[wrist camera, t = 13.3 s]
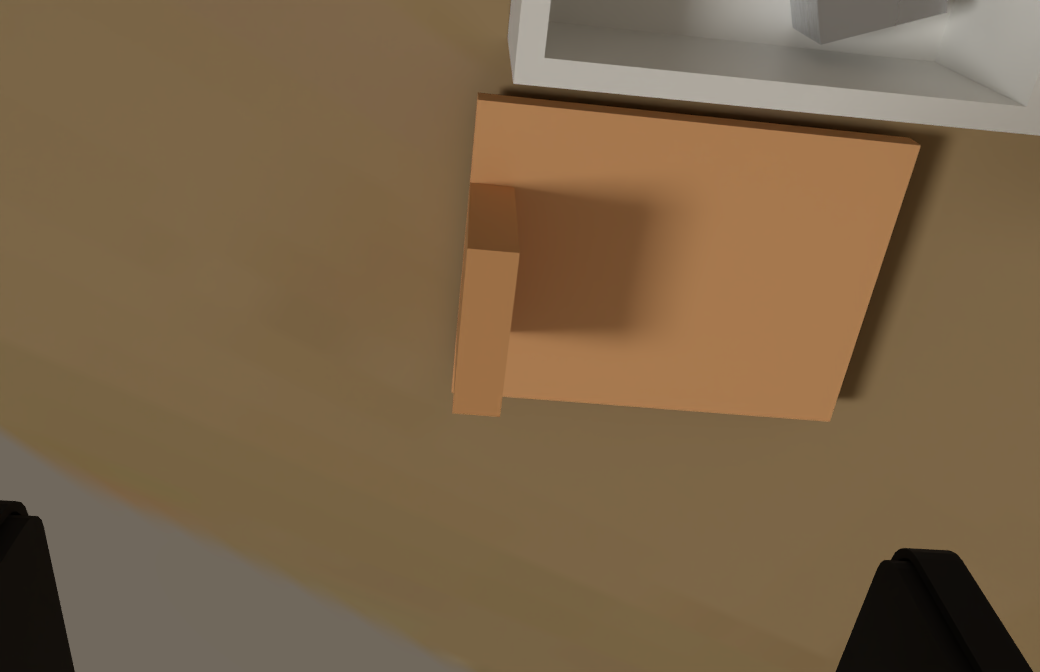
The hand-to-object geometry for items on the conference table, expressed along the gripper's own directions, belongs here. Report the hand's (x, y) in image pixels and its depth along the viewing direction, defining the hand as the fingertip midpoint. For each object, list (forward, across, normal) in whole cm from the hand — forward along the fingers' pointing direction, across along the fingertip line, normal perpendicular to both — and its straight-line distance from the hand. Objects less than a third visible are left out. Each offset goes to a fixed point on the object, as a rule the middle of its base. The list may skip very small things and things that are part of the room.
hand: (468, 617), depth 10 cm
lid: (+26, -8, +7) cm, 28 cm away
